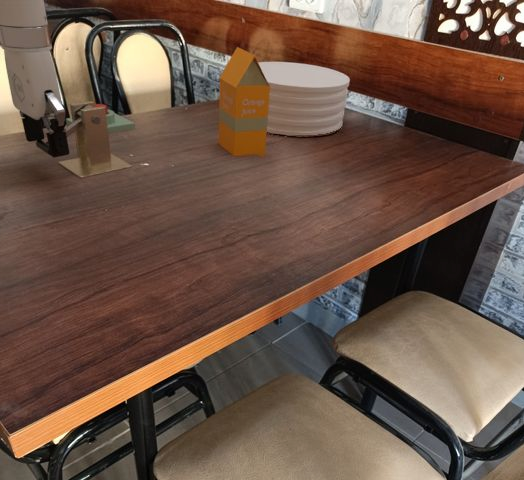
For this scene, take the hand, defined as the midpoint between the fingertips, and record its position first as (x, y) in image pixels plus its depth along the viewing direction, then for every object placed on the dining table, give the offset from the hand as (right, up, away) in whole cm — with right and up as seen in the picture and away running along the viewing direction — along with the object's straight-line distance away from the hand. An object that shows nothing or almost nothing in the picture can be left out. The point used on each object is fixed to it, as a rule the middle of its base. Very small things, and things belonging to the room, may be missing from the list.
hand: (47, 147), depth 91 cm
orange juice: (+34, +8, +23) cm, 42 cm away
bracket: (+6, -1, +9) cm, 11 cm away
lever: (+4, +3, +2) cm, 5 cm away
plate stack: (+46, +25, +45) cm, 69 cm away
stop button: (+1, +18, +25) cm, 30 cm away
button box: (+1, +15, +27) cm, 31 cm away
